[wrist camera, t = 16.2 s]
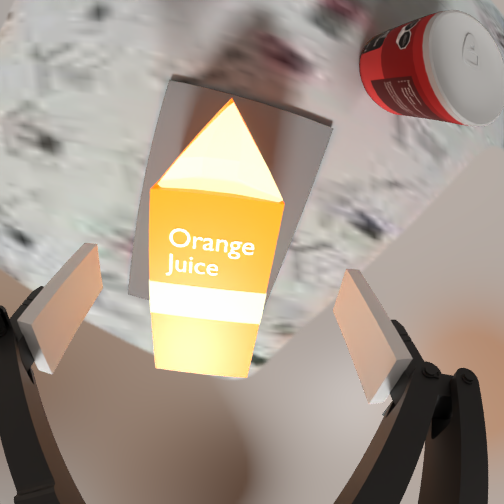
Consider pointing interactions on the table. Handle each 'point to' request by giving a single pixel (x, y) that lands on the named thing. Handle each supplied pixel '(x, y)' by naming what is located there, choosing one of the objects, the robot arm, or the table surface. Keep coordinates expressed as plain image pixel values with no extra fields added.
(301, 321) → the table surface
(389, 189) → the table surface
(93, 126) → the table surface
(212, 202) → the orange juice
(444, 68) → the canned food
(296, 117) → the mat
